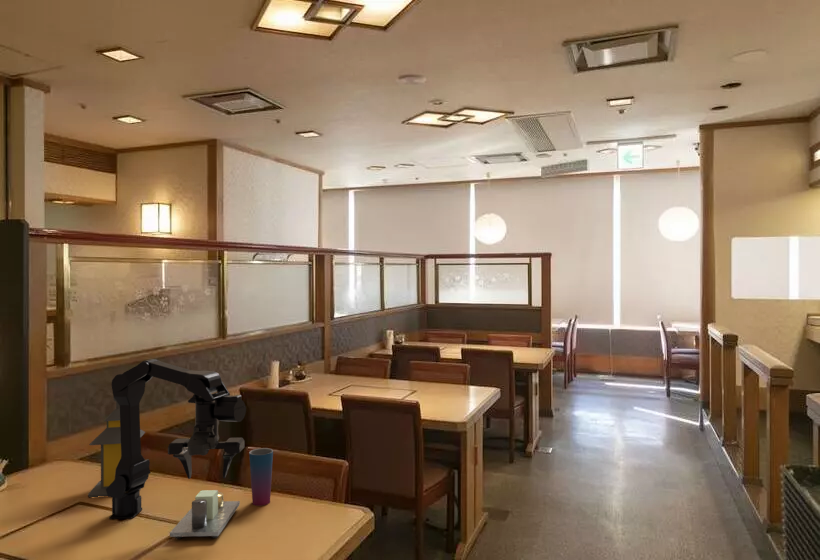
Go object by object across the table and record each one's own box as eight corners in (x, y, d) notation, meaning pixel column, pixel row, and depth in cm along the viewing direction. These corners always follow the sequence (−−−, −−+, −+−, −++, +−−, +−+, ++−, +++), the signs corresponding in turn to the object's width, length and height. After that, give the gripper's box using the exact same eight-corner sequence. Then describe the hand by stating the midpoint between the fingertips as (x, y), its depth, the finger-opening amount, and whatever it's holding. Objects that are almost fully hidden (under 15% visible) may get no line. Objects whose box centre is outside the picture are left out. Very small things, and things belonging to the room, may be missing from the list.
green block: (201, 512, 154) (201, 490, 154) (217, 512, 154) (217, 490, 154) (195, 519, 149) (195, 496, 149) (212, 519, 150) (212, 496, 150)
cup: (266, 507, 163) (266, 455, 163) (245, 506, 164) (244, 454, 165) (277, 498, 170) (276, 448, 170) (256, 497, 171) (255, 447, 171)
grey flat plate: (169, 542, 142) (169, 532, 142) (197, 510, 162) (197, 501, 162) (218, 541, 142) (218, 531, 142) (239, 509, 162) (239, 501, 162)
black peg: (191, 528, 144) (191, 504, 144) (192, 523, 147) (192, 499, 147) (206, 526, 145) (206, 502, 145) (207, 521, 148) (207, 498, 148)
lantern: (137, 494, 174) (137, 396, 174) (86, 498, 171) (86, 398, 171) (147, 479, 188) (147, 388, 188) (100, 482, 185) (100, 390, 185)
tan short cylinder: (204, 508, 156) (204, 498, 157) (209, 502, 161) (209, 492, 161) (220, 508, 157) (220, 497, 157) (225, 502, 161) (225, 491, 161)
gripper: (159, 427, 144) (159, 489, 143) (233, 426, 144) (233, 488, 144) (175, 417, 155) (176, 474, 155) (244, 416, 155) (245, 473, 155)
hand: (207, 478), depth 152 cm, fingers open, 9 cm apart
